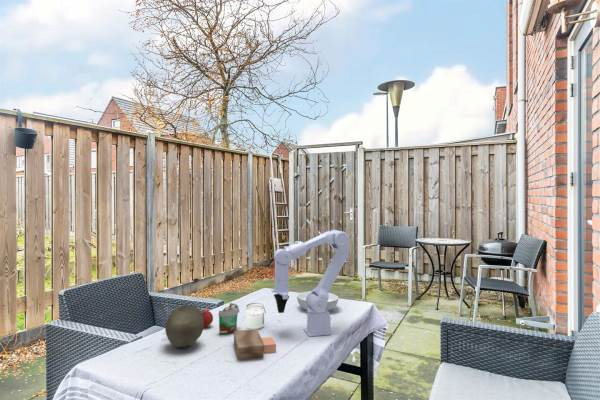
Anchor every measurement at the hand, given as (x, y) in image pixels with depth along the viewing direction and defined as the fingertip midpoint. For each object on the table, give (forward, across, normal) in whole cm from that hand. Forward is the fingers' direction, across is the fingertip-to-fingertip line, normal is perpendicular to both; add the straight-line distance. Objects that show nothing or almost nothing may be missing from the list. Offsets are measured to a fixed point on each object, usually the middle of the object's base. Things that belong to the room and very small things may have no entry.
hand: (280, 312), depth 147 cm
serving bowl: (+10, -30, +26) cm, 41 cm away
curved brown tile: (+9, +12, -15) cm, 21 cm away
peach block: (+9, +12, -10) cm, 18 cm away
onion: (+10, -16, -29) cm, 34 cm away
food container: (+10, -9, -19) cm, 23 cm away
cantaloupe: (+10, +3, -37) cm, 38 cm away
